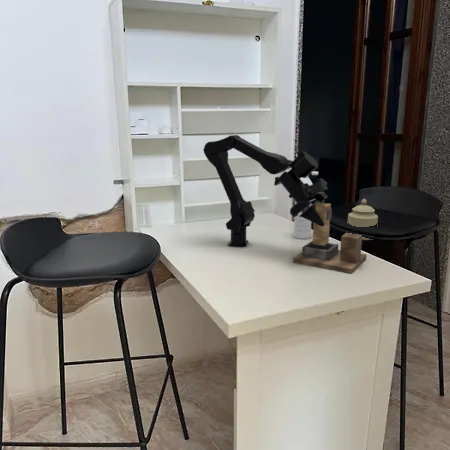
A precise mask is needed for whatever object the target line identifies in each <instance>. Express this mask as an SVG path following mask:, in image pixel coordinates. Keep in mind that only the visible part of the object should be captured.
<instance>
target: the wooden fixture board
mask: <svg viewBox="0 0 450 450" xmlns="http://www.w3.org/2000/svg"><path fill="white" fill-rule="evenodd" d="M340 238H341V240H340V249H339V244H337V243H330V242H329V243H327V244H326V245H324V246H323V245H317V244H312V242H313V240H311V241H309V242H308V243H306V244H305V245H303V246H302V247H301V252H300V253H299V254H298V255H296V256H295V257H292V258H293V259H292V260H293V261H292V263H295V264H299V265H304V266H308V267H309V266H310V267H314V268H319V269H325V270H330V271H334V272H335V271H336V272H340V273H345V274H350V275H352V274H353V273H354V272H355V271H356V270H357V269H358V268H359V267H360V266H361V265H362V264H363V263H364V262H365V261H366V260H367V254H366V253H362V242H363V240H362V235H359V234H352V233H347V232H346V233H344V234H342V236H341V237H340Z"/></svg>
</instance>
